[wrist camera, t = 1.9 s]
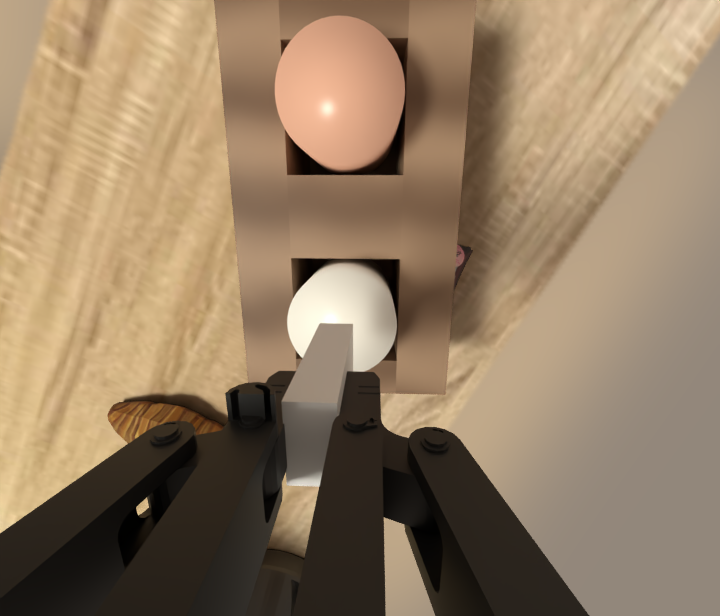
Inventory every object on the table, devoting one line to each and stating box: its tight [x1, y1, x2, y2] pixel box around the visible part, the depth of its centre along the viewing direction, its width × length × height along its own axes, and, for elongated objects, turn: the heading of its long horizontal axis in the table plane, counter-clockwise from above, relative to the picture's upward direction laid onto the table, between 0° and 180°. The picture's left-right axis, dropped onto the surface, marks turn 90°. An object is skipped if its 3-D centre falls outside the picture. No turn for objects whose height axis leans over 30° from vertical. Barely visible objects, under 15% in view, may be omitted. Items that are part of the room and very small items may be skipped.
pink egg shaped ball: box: [275, 15, 405, 175], centre depth 21 cm, size 6×6×8 cm
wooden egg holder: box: [214, 0, 476, 395], centre depth 26 cm, size 24×14×9 cm, turn 0°
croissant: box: [108, 401, 224, 444], centre depth 34 cm, size 14×7×5 cm, turn 72°
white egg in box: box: [287, 258, 397, 372], centre depth 24 cm, size 6×6×8 cm
